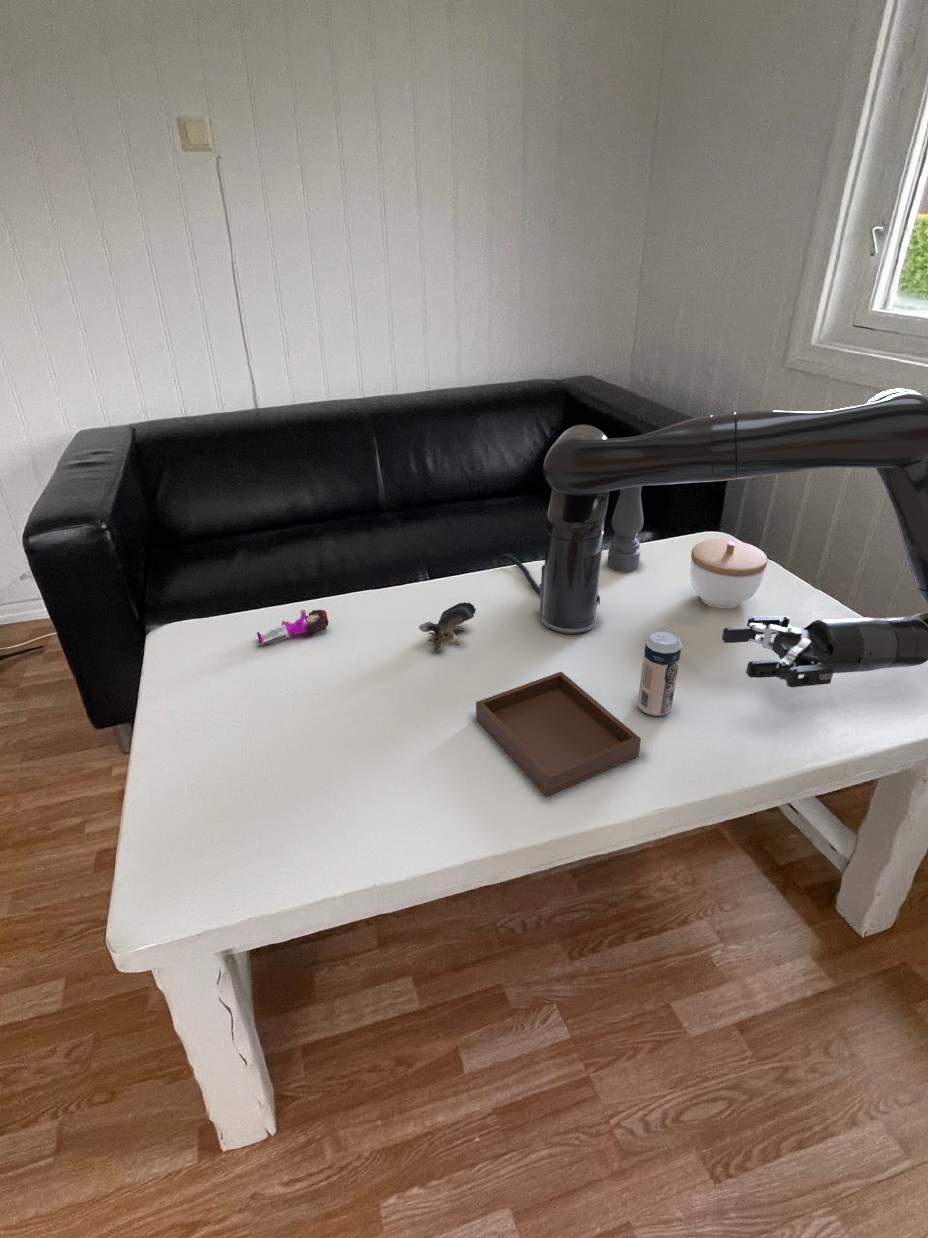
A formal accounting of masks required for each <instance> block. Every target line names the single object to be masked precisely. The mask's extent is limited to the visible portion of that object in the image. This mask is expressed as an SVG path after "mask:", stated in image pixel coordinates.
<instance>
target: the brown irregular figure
mask: <svg viewBox="0 0 928 1238" xmlns="http://www.w3.org/2000/svg"><path fill="white" fill-rule="evenodd" d="M476 611H477V608H476V607H475V605H473V603H471V602H466V601H464V602H459V603H456V604H455V605H452V606H451V607H449V608H447V609H446V610H444V611H443V612H442V613H441V616H440V617H439V620H438V622H437V623H433V622H432V621H427V622H424V623H422V624H420V625H419V626H418V629H419V630H420V631H421V632H423V633H427V634H428V635H431V636H432V637H433V639H432V638H429V639H427V642H428V643H429V642H431V643H433V644H434V648H433V652H434V653H435V652H437V651H438V650H439V649H441V647H442V644H443V642H445V641H449V640H451V641H452V642H455V643H456V644H458V645H459V646H460V644H461V642H460V638H459V637H458V636H457V635H456V634H455V632H454V631H455V630H458V631H459V630H461V631H463V630H464V631H465V630H466V629H465V627H463V626H460V625H462V624H463V623H464V622H467V621H470V620H471V619H472V618H474V616H475V613H476Z"/></svg>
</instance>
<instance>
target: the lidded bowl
mask: <svg viewBox="0 0 928 1238" xmlns="http://www.w3.org/2000/svg"><path fill="white" fill-rule="evenodd" d="M690 558H691V559H690V566H689V577H690V578H689V579H690V582H691V586H692V588H693V590H694V592H695V593H696V595H698V597H699V599H700V601H701V602H702V603H704V604H706V605H707V606H709V607H712V608H715V609H720V610H721V609H722V610H733V609H736V608H738V607H740V606H741V605H742V604H744V603H745V602H747V601H749V600H750V599H751V598H752V597H753V596H754V595H755V594H756V592H757V591H758V590H759V587H760V585H761V583H762V580H763V577H764V574H765V571H766V568H767V565H768V556H767V554H766V553H765V552H764V551H763V550H761V549H760V548H758V547H756V546H754V545H752V544H750V543H746V542H743V541H737V540H731V539H708V540H705V541H701V542H698V543H696V544H695V545H694V546H693V547H692V550H691V554H690Z"/></svg>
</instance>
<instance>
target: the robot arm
mask: <svg viewBox="0 0 928 1238" xmlns="http://www.w3.org/2000/svg"><path fill="white" fill-rule="evenodd" d="M858 468H860V469H862V468H863V469H875V470H876V472H877V474H878V475H879V477H880V479H881V481H882V484H883V486H884V489H885V491H886V493H887V496H888V499H889V502H890V504H891V506H892V507H891V508H892V509H893V513H894V516H895V519H896V523H897V527H898V530H899V533H900V537H901V541H902V544H903V548H904V551H905V556H906V559H907V562H908V565H909V569H910V571H911V575H912V577H913V581H914V584H915V587H916V590H917V594H918V595H919V598H920V599H921V600H922V602H923V603H924V604H926V605H927V606H928V396H927V395H925V394H923V393H921V392H919V391H916V390H913V389H912V390H911V389H906V388H895V389H894V388H893V389H889V390H886V391H882V392H880V393H878V394H876V395H875V396H874V397H872V398H871V399H869V400H868V402H867V403H866V404H862V405H857V406H850V407H845V408H839V409H834V410H825V411H793V410H790V411H789V410H788V411H787V410H745V411H744V410H743V411H742V410H741V411H736V412H735V411H733V412H724V413H716V414H709V415H703V416H697V417H694V418H690V419H686V420H682V421H680V422H676V423H673V424H670V425H668V426H664V427H662V428H659V429H657V430H653V431H649V432H648V433H644V434H640V435H635V436H628V437H615V438H608V437H607V436H606V434H605V433H604V431H602V430H600V429H599V428H597V427H595V426H593V425H589V424H577V425H574V426H571V427H569V428H567V429H566V430H565V431H563V432H562V433H561V434H560V435H559V437H558V438H556V440H555V441H554V443H553V444H552V445H551V447H550V448H549V450H548V452H547V453H546V456H545V458H544V462H543V465H542V473H543V477H544V480H545V481H546V483H547V485H549V487H550V488H551V493H550V499H549V504H548V509H547V512H546V521H545V523H546V524H545V526H546V527H545V549H544V551H545V552H544V564H542V566H541V573H540V574H541V575H540V577H541V578H540V581H541V582H540V583H539V585H538V584H537V582H536V581H535V579H534V578H533V577H532V575H531V573H530V571H529V569H528V568H527V567H526V566H525V565H524V564H523V563H522V562H521V561H520V560H519V559H518V558H516V557H514V555H512V554H510V553H503V554H501V555H499V557H498V559H500V560H504V559H507V560H510V561H511V562H512V563H513V564H515V566H516V567H518V568H519V569H520V570H521V571H522V572H523V574H524V576H525V578H526V579H527V581H528V583H529V584H530V586H531V587H532V588H533V590H534V591H535V592H536V593H538V595H539V599H540V603H539V604H540V605H539V614H540V615H541V622H542V623H543V625H544V626H545V627H546V628H548V629H549V630H551V631H554V632H556V633H559V634H560V633H561V634H567V635H573V634H574V635H575V634H576V635H577V634H582V633H586V632H588V631H590V630H593V628H594V627H595V626H596V624H597V620H598V616H597V611H598V605H600V604H601V603H600V602H601V597H600V595H599V591H600V589H599V588H600V579H601V568H602V567H601V566H602V557H603V556H602V555H603V553H602V552H603V544H604V543H603V540H604V532H605V531H604V530H605V521H606V516H607V512H608V506H609V496H610V492H613V491H618V490H619V491H620V490H621V489H624V488H630V487H637V486H642V487H644V486H645V487H646V486H664V485H665V486H667V485H679V484H681V485H682V484H691V483H692V484H693V483H713V482H725V481H735V480H737V481H738V480H745V479H753V478H754V479H755V478H763V477H769V476H777V475H785V474H791V473H797V472H804V471H810V470H819V469H820V470H821V469H858ZM790 622H791V617H790V616H789V615H751V616H748V618H747V622H746V623H747V624H746V625H744V626H743V625H741V626H727V627H725V628H723V631H722V634H721V640H722V642H723V643H725V644H734V643H735V644H737V643H749V642H751V643H755V644H759V645H761V646H762V648H763V649H766V650H769V651H773V652H774V653H775V654H776V655H777V656H778V657H779V661H778V660H777V659H761V660H750V661H748V662H747V666H746V671H745V674H746V675H747V677H748V678H751V679H752V678H758V679H759V678H760V679H762V678H776V679H777V680H784V681H786V686H788V687H789V688H802V687H810V686H821V685H829V684H831V683H832V679H833V676H834V674H842V673H843V674H846V673H859V672H861V673H863V672H871V671H877V670H883V669H894V668H895V669H896V668H908V667H916V666H921V665H922V664H925V663H926V662H928V611H925V612H920V613H916V614H912V615H910V616H893V617H892V616H891V617H869V616H868V617H867V616H866V617H865V616H862V617H861V616H860V617H844V618H828V619H826V618H825V619H816V620H814V621H812V622H811V623H809V624H808V625H807V626H805V627H796V626H792V625H791V624H790ZM760 635H763V636H764V637H763V636H760ZM772 635H775V636H774V639H773V642H772V641H771V639H772ZM801 675H802V676H803V677H799V676H801Z"/></svg>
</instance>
